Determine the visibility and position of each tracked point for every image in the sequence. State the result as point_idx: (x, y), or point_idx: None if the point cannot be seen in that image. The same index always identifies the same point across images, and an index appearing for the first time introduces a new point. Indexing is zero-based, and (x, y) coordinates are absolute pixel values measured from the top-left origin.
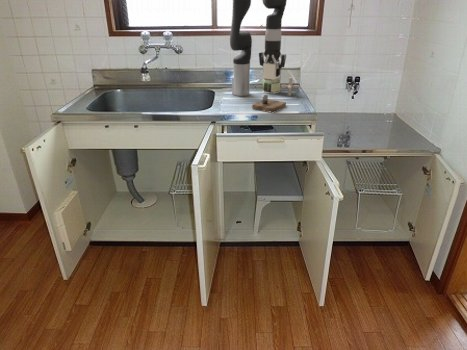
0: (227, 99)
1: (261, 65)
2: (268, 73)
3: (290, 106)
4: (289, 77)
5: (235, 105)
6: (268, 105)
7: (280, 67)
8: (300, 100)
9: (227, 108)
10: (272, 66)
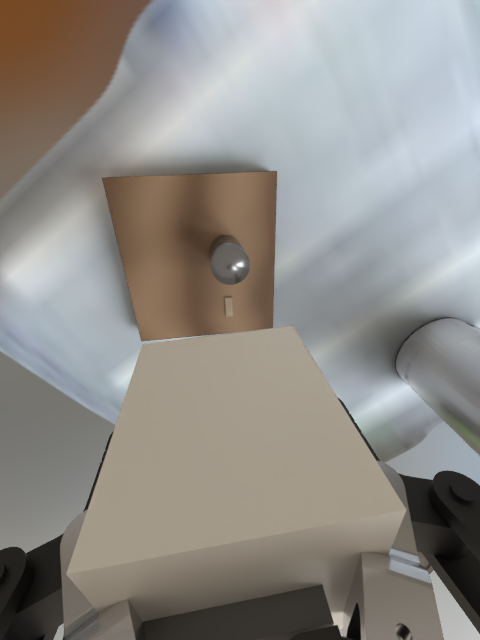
0: (475, 239)
1: (431, 480)
2: (226, 375)
3: (125, 341)
4: None
5: (393, 162)
6: (180, 226)
7: (19, 553)
8: None
9: (419, 56)
10: (143, 503)
